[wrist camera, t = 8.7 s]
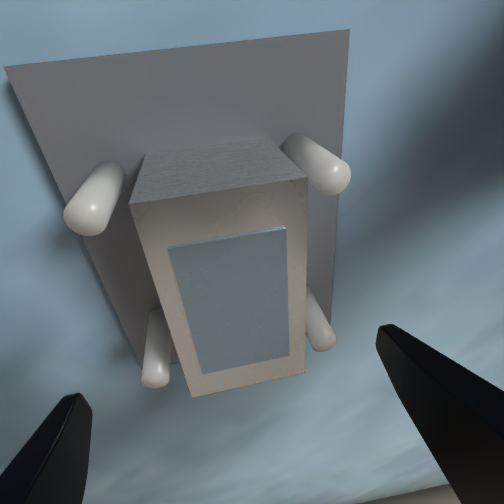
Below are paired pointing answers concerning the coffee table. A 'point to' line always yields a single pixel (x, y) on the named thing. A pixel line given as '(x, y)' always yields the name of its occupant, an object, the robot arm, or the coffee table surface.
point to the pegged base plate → (187, 136)
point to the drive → (227, 259)
